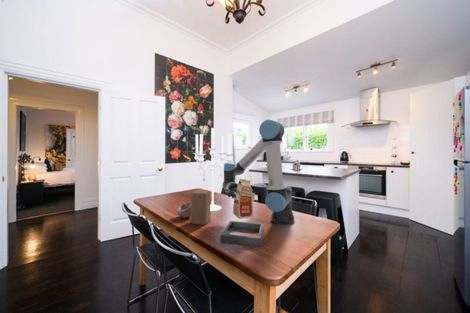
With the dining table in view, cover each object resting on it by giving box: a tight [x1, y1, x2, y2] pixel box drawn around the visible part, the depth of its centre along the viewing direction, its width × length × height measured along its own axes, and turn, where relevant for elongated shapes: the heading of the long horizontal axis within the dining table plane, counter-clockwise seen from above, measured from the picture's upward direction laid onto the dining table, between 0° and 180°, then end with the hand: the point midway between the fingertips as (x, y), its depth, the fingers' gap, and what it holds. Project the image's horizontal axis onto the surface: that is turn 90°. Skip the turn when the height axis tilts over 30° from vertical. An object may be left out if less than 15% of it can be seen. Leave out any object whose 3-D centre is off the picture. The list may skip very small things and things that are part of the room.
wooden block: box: [190, 189, 211, 226], centre depth 125 cm, size 10×10×20 cm
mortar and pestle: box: [175, 200, 191, 219], centre depth 134 cm, size 12×12×12 cm
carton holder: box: [220, 220, 265, 248], centre depth 104 cm, size 20×20×4 cm
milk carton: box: [232, 178, 254, 220], centre depth 103 cm, size 9×9×20 cm
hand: (246, 196), depth 99 cm, fingers closed on milk carton, 8 cm apart
